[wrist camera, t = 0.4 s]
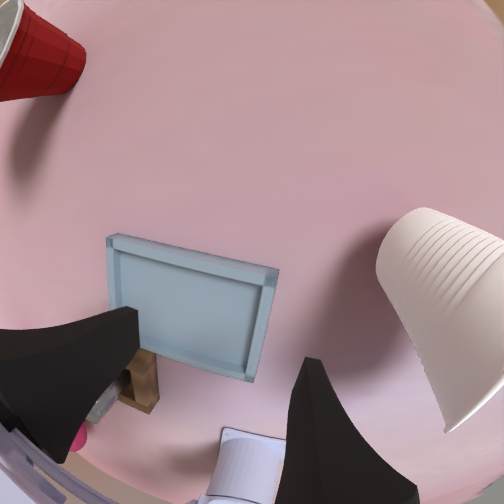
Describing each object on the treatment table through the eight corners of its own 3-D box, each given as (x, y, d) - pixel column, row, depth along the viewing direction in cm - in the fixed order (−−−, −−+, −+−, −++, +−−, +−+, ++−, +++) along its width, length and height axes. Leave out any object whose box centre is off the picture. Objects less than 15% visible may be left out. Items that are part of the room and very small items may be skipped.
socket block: (159, 398, 27) (149, 414, 24) (105, 373, 28) (93, 386, 25) (155, 348, 24) (141, 365, 22) (94, 323, 25) (79, 335, 23)
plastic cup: (78, 127, 19) (-29, 126, 8) (31, 110, 20) (-48, 110, 9) (125, 25, 16) (35, -20, 4) (67, 27, 16) (-7, 5, 5)
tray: (256, 371, 23) (253, 383, 21) (121, 328, 24) (113, 336, 23) (279, 269, 19) (277, 277, 18) (117, 232, 21) (106, 237, 20)
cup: (361, 326, 19) (433, 444, 10) (326, 225, 14) (475, 407, 4) (452, 261, 18) (536, 345, 9) (448, 152, 13) (590, 236, 4)
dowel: (138, 381, 26) (101, 428, 18) (114, 370, 26) (76, 413, 19) (135, 360, 25) (93, 409, 17) (110, 349, 25) (66, 392, 18)
